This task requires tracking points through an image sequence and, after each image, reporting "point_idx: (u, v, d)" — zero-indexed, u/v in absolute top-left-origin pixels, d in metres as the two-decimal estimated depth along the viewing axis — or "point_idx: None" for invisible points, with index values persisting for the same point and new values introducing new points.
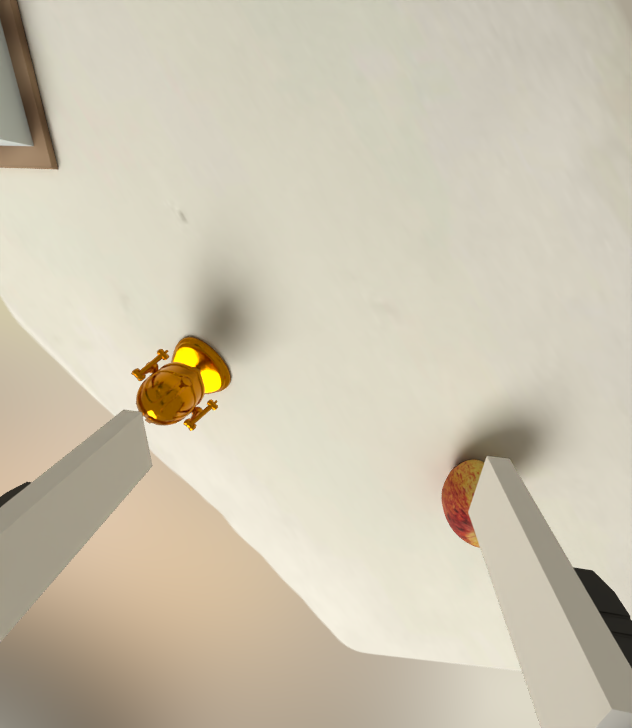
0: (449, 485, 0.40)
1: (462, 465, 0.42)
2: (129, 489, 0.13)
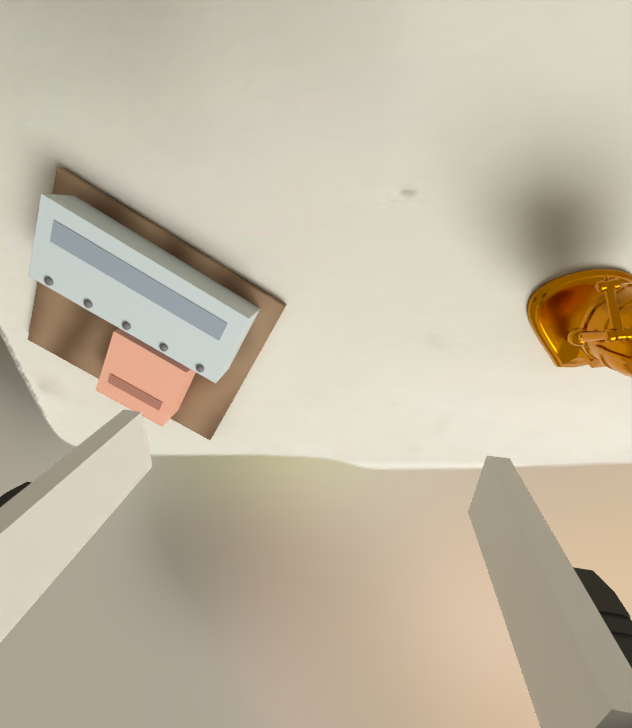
0: None
1: None
2: (129, 489, 0.13)
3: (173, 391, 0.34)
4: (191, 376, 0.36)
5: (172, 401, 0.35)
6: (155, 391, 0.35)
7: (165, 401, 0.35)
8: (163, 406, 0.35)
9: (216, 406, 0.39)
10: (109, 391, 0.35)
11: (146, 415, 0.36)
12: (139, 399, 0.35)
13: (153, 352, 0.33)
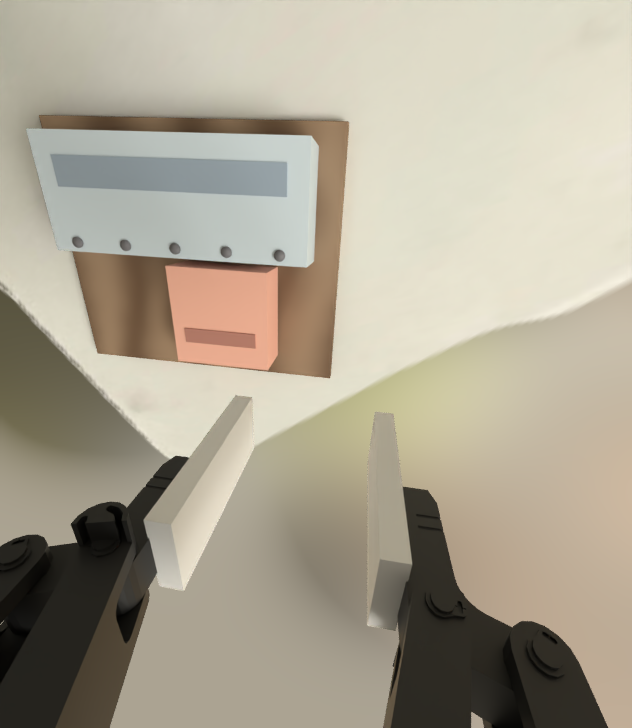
0: None
1: None
2: (243, 466, 0.14)
3: (261, 310, 0.26)
4: (274, 292, 0.27)
5: (265, 326, 0.26)
6: (240, 323, 0.26)
7: (257, 331, 0.26)
8: (258, 340, 0.27)
9: (319, 325, 0.29)
10: (192, 354, 0.28)
11: (244, 364, 0.28)
12: (228, 345, 0.27)
13: (217, 269, 0.25)
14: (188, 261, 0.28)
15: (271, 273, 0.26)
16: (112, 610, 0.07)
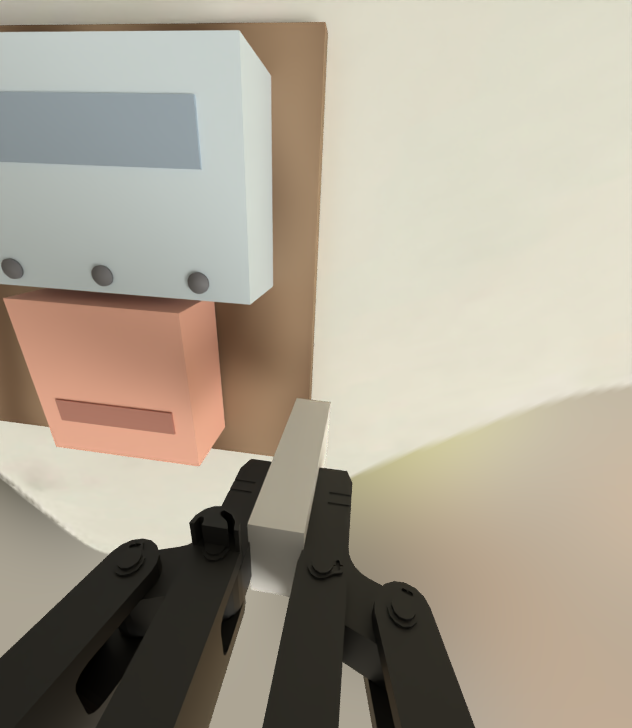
0: None
1: None
2: None
3: (176, 375, 0.15)
4: (208, 337, 0.16)
5: (188, 401, 0.15)
6: (145, 394, 0.15)
7: (175, 408, 0.15)
8: (179, 422, 0.16)
9: (287, 385, 0.18)
10: (76, 437, 0.17)
11: (160, 456, 0.17)
12: (130, 427, 0.16)
13: (95, 304, 0.14)
14: None
15: (195, 310, 0.15)
16: (218, 622, 0.07)
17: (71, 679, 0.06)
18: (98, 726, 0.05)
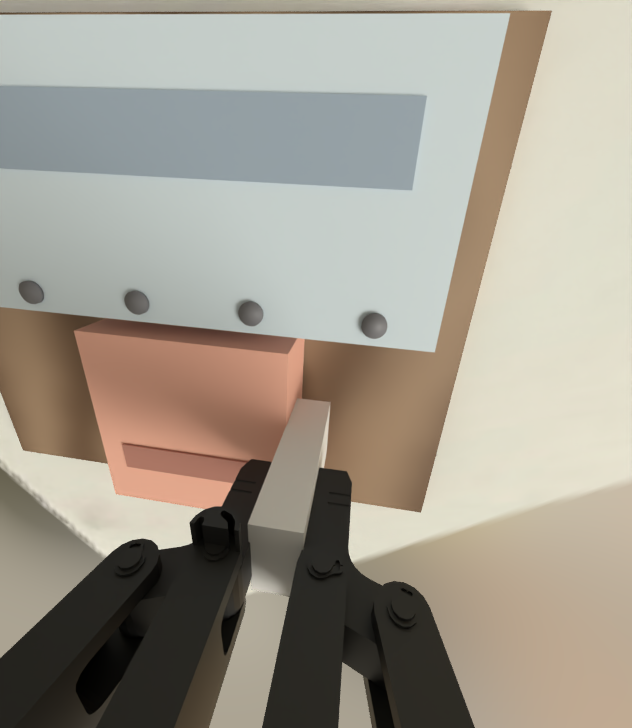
0: None
1: None
2: None
3: (273, 423, 0.12)
4: (299, 374, 0.14)
5: None
6: (232, 442, 0.13)
7: (265, 459, 0.13)
8: None
9: (414, 431, 0.16)
10: (141, 485, 0.15)
11: None
12: (208, 478, 0.14)
13: (183, 340, 0.12)
14: None
15: (296, 346, 0.13)
16: (219, 623, 0.07)
17: (71, 679, 0.06)
18: (98, 726, 0.05)
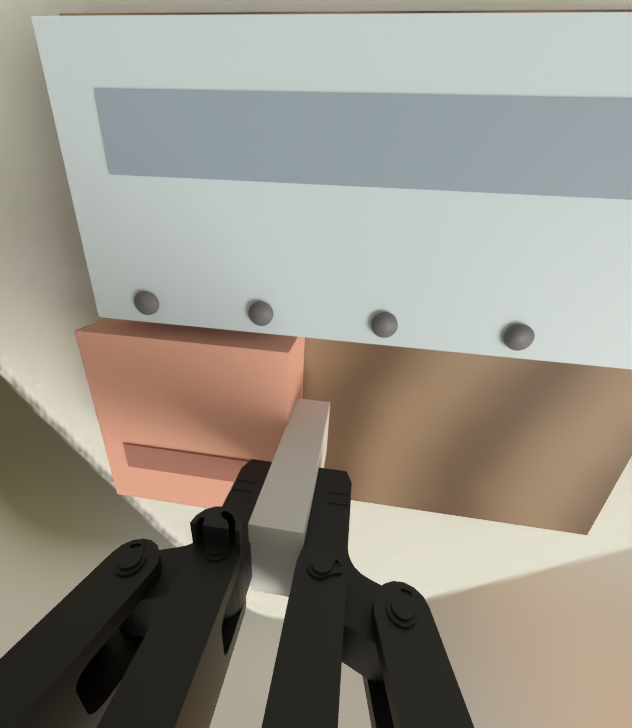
0: None
1: None
2: None
3: (274, 421, 0.12)
4: (299, 373, 0.14)
5: None
6: (233, 441, 0.13)
7: (267, 458, 0.13)
8: None
9: (601, 452, 0.15)
10: (143, 485, 0.15)
11: None
12: (210, 477, 0.14)
13: (184, 339, 0.12)
14: None
15: (296, 344, 0.13)
16: (219, 623, 0.07)
17: (72, 679, 0.06)
18: (99, 726, 0.05)
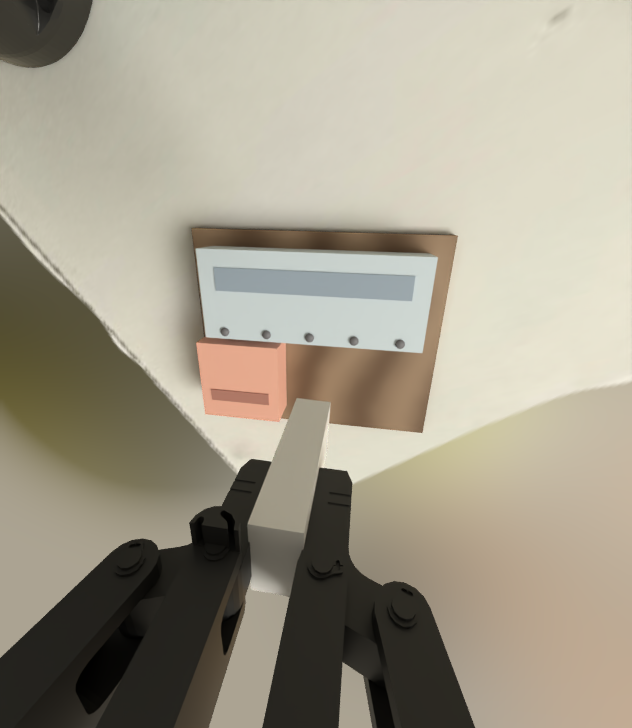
0: None
1: None
2: None
3: (273, 376, 0.32)
4: (283, 358, 0.34)
5: (277, 388, 0.32)
6: (256, 385, 0.33)
7: (270, 392, 0.33)
8: (271, 398, 0.33)
9: (417, 390, 0.34)
10: (217, 408, 0.34)
11: (259, 417, 0.34)
12: (246, 402, 0.34)
13: (238, 344, 0.31)
14: None
15: (281, 346, 0.32)
16: (218, 622, 0.07)
17: (70, 680, 0.06)
18: (98, 726, 0.05)
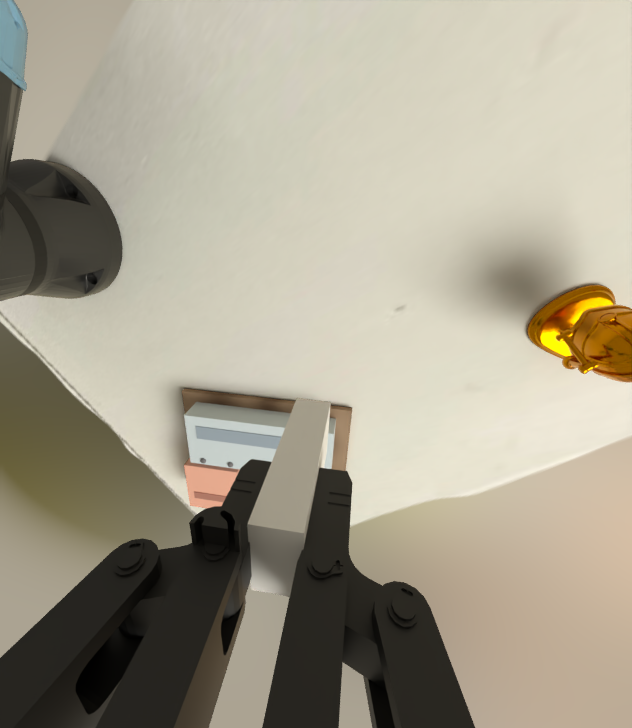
0: None
1: None
2: None
3: None
4: None
5: None
6: (224, 492, 0.49)
7: None
8: None
9: None
10: (198, 503, 0.50)
11: None
12: (218, 501, 0.49)
13: (212, 467, 0.47)
14: None
15: None
16: (218, 622, 0.07)
17: (71, 679, 0.06)
18: (98, 726, 0.05)
